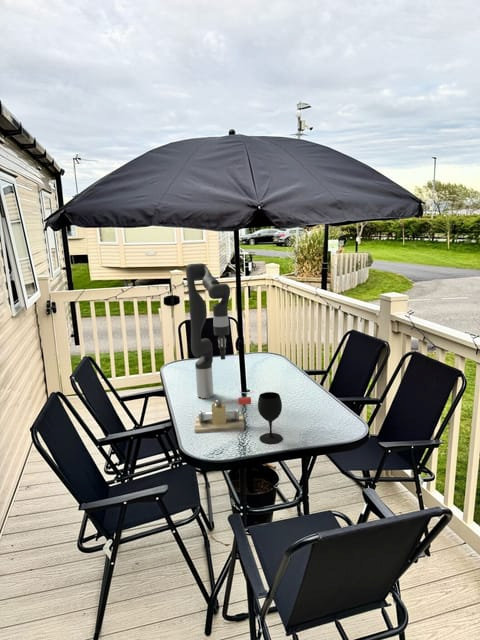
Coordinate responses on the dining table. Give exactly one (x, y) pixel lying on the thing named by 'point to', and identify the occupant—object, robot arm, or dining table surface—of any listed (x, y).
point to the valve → (218, 415)
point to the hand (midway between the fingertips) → (223, 359)
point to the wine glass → (270, 415)
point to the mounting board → (219, 425)
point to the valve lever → (234, 401)
